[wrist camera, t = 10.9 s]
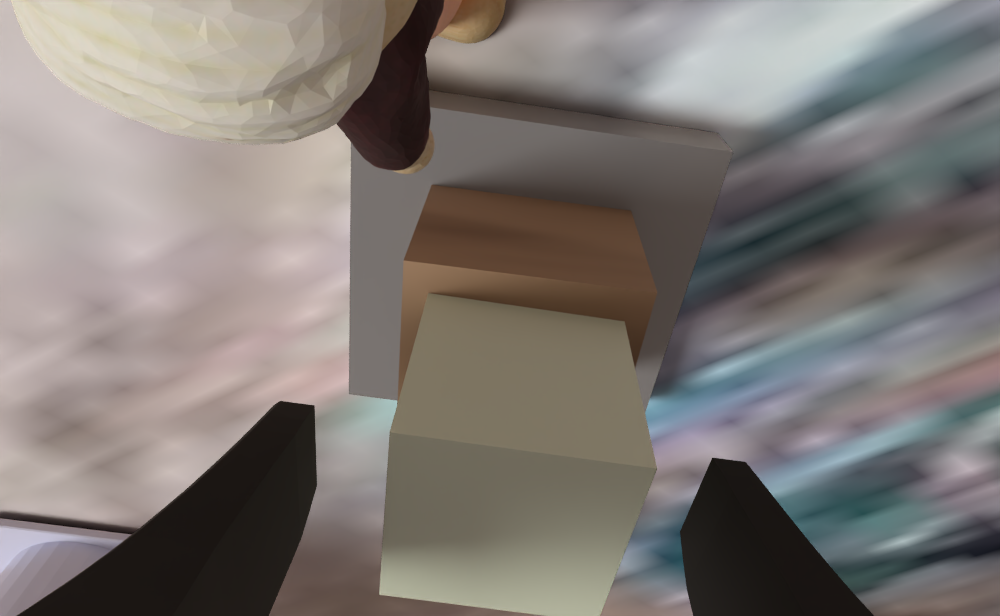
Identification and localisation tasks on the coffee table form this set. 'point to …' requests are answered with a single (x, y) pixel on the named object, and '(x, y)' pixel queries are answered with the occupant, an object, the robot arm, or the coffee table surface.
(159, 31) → the grandmother figurine
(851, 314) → the coffee table surface
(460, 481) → the sage block
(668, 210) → the plinth
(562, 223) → the walnut block
